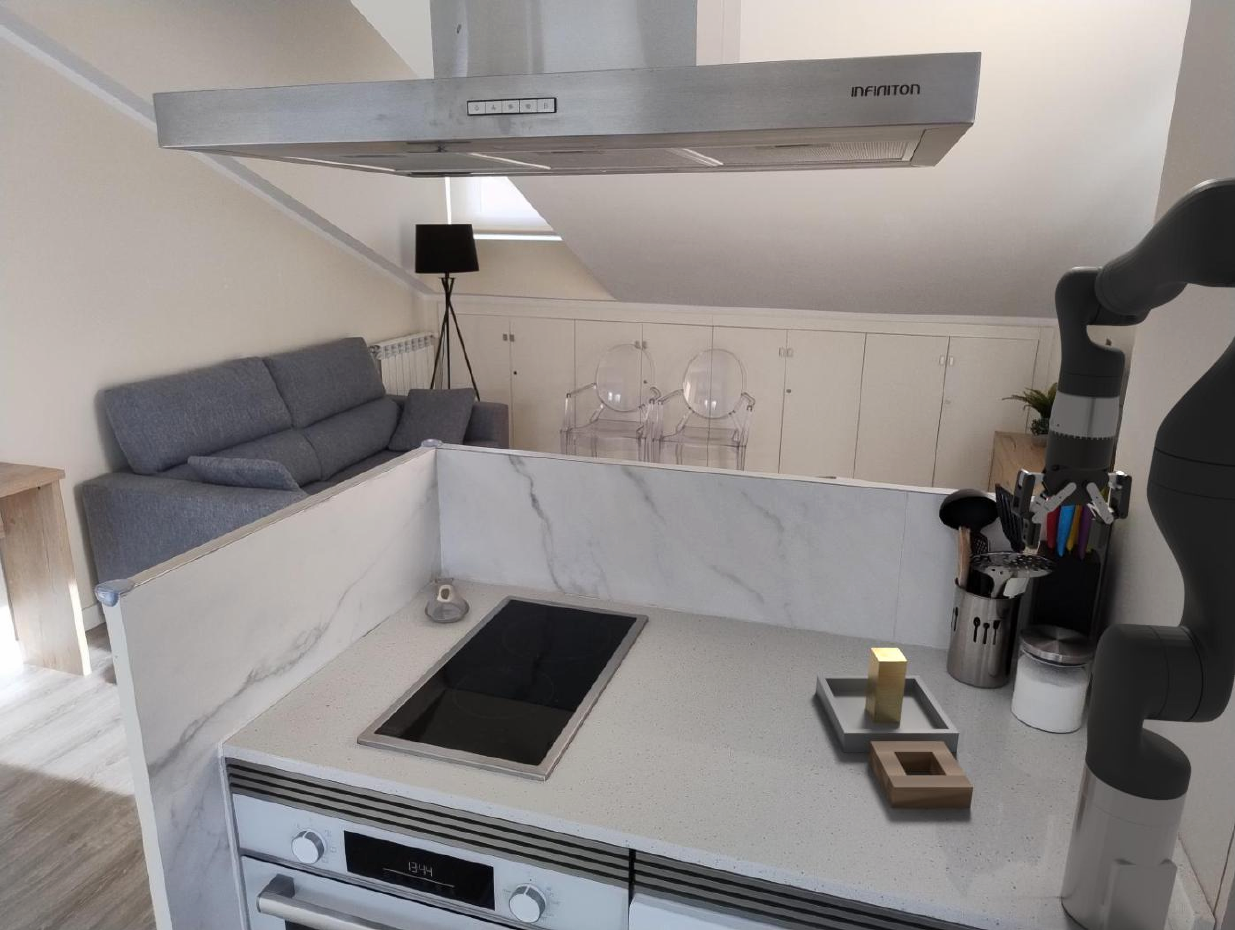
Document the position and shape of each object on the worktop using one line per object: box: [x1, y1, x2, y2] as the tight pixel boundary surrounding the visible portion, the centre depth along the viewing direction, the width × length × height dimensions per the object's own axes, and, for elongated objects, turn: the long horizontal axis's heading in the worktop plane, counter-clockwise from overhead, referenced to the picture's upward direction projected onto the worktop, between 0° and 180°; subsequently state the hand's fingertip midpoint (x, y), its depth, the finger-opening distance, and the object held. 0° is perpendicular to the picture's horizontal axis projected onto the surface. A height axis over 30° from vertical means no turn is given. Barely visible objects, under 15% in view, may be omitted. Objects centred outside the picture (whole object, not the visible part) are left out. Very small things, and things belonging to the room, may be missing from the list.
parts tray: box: [815, 674, 960, 753], centre depth 129 cm, size 16×16×3 cm
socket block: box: [868, 741, 974, 809], centre depth 115 cm, size 10×10×3 cm
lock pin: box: [865, 647, 908, 723], centre depth 128 cm, size 4×4×10 cm
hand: (1063, 547), depth 115 cm, fingers open, 8 cm apart
